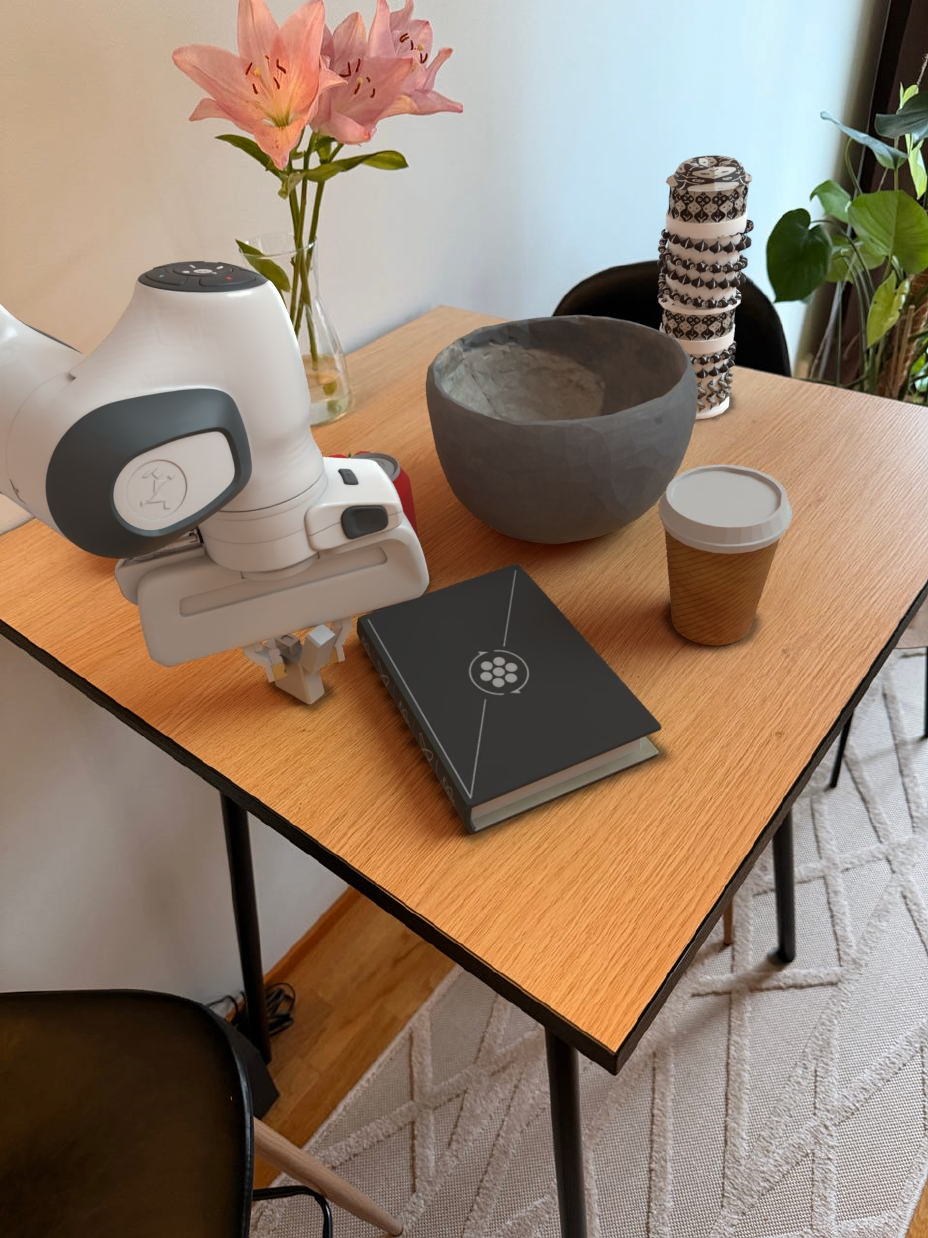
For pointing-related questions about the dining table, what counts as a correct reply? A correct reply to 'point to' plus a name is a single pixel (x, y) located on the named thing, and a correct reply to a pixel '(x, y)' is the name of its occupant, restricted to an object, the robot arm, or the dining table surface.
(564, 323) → the bowl
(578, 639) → the book
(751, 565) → the disposable coffee cup
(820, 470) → the dining table surface
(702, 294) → the patterned white cylinder
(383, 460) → the beverage can
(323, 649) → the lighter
